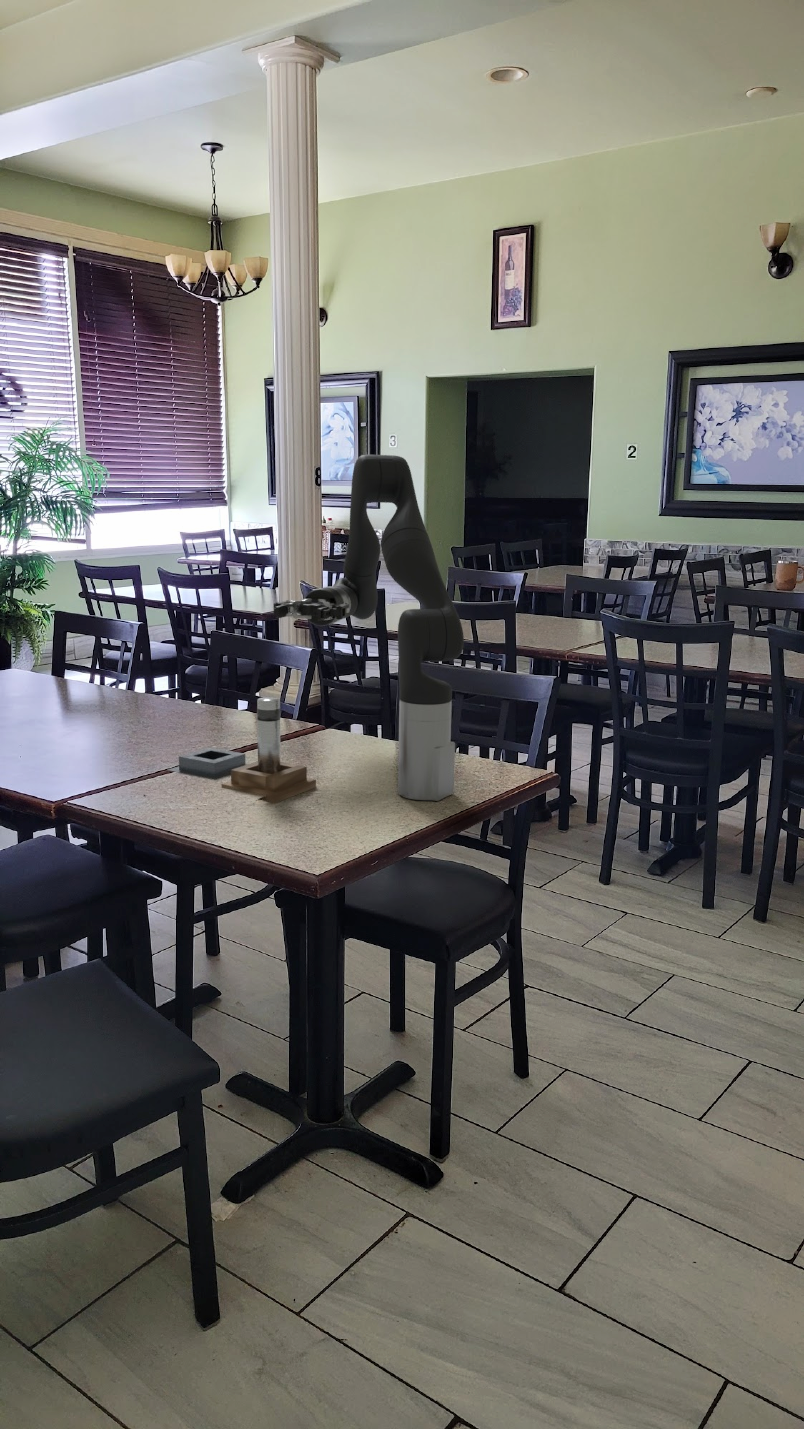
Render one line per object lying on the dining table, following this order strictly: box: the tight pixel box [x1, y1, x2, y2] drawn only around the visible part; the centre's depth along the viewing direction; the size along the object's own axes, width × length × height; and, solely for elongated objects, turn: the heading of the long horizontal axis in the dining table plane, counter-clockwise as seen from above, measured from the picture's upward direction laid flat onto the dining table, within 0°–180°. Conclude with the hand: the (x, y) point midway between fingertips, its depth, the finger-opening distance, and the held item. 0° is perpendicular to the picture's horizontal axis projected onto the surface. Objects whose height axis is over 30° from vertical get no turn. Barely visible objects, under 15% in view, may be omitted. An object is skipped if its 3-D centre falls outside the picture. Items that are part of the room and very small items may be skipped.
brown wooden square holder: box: [221, 760, 317, 804], centre depth 187 cm, size 12×12×4 cm
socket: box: [167, 747, 249, 781], centre depth 198 cm, size 12×12×4 cm
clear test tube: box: [256, 697, 281, 774], centre depth 186 cm, size 4×4×15 cm
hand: (298, 613), depth 198 cm, fingers open, 8 cm apart
